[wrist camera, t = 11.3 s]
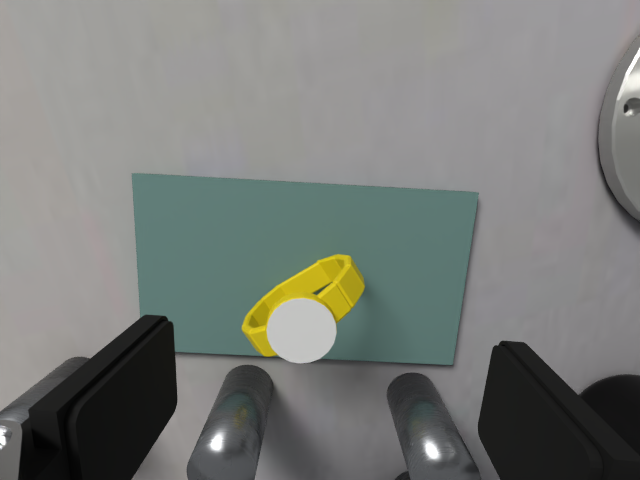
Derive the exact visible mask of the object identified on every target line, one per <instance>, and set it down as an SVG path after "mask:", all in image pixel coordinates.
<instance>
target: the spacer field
mask: <svg viewBox="0 0 640 480" xmlns="http://www.w3.org/2000/svg"><path fill="white" fill-rule="evenodd" d="M88 360H89V358H85V357H74V358H71V359H68V360H67V361H65V362H64V363H63V364H61V365H60V366H59V367H57V368H56V369H55V370H53V371H52V372H51V373H50V374H48V375H47V376H46V377H44V378H43V379H42V380H40V381H39V382H38V383H37V384H35V385H34V386H33V387H31V388H30V389H29V390H28V391H26V392H25V393H24V394H22V395H21V396H20V397H18V398H17V399H16V400H15V401H13V402H12V403H11V404H9V405H8V406H7V407H5V408H4V409H3V410H2V411H0V420H10V421H15V422H17V423H18V424H22V423H23V422H24V421H25V420H26V419H27V418H29V413H28V409H29V408H30V407H31V406H33V405H34V404H35V403H36V402H38V401H39V400H40V399H41V398H43V397H44V396H45V395H46V394H48V393H49V392H50V391H51V390H52V389H54V388H55V387H56V386H57V385H59V384H60V383H61V382H62V381H64V380H65V379H66V378H67V377H68V376H70V375H71V374H72V373H73V372H75V371H76V370H77V369H78V368H80V367H81V366H82V365H83V364H84V363H86V362H87V361H88ZM272 391H273V384H272V380H271V378H270V376H269V375H268V374H267V373H266V372H265V371H264V370H263V369H261V368H259V367H257V366H253V365H242V366H238V367H236V368H234V369H232V370H231V371H230V372H229V373H228V374H227V376H226V378H225V380H224V382H223V384H222V387H221V389H220V391H219V394H218V396H217V398H216V400H215V403H214V405H213V407H212V409H211V412H210V414H209V416H208V419H207V421H206V423H205V425H204V428H203V430H202V432H201V434H200V437H199V439H198V441H197V444H196V446H195V448H194V450H193V453H192V455H191V457H190V459H189V462H188V465H187V476H188V480H254V479H255V475H256V470H257V465H258V460H259V455H260V450H261V445H262V440H263V435H264V431H265V426H266V421H267V416H268V411H269V406H270V401H271V396H272ZM387 400H388V404H389V407H390V411H391V414H392V418H393V421H394V424H395V428H396V431H397V435H398V438H399V441H400V445H401V448H402V452H403V455H404V458H405V462H406V465H407V469H408V471H407V472H404V473H402V474H401V475H399V476H398V477H397V478H396V479H395V480H481V478H480V473H479V470H478V468H477V466H476V464H475V462H474V460H473V459H472V457H471V455H470V453H469V451H468V449H467V447H466V445H465V443H464V441H463V440H462V438H461V436H460V434H459V432H458V430H457V428H456V426H455V424H454V422H453V421H452V419H451V417H450V415H449V413H448V411H447V409H446V407H445V405H444V403H443V402H442V400H441V398H440V396H439V394H438V392H437V390H436V388H435V386H434V384H433V383H432V381H431V380H430V379H429V378H428V377H426V376H424V375H422V374H419V373H406V374H403V375H400V376H399V377H397V378H396V379H394V380H393V381H392V383H391V384H390V386H389V388H388V390H387Z"/></svg>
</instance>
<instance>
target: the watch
mask: <svg viewBox="0 0 640 480" xmlns="http://www.w3.org/2000/svg"><path fill="white" fill-rule="evenodd" d="M332 282H333V283H332ZM330 283H331V284H330ZM328 284H330V285H329V286H327V287H326V288H325V289H324V290H323V291H321V292H320V293H319V294H318V295H315V294H313V293H314V292H316V291H318V290H320V289H321V288H323V287H325V286H326V285H328ZM364 288H365V284H364V278H363V276H362V274H361V273H360V271H359V269H358V268H357V266H356V264H355V263H354V261H353V260H352V258H351V256H349V255H340V254H337V255H333V256H330V257H327V258H324V259H321V260H318V261H317V262H316V263H315V264H313V265H311V266H309V267H308V268H306V269H304V270H303V271H301V272H299V273H298V274H296V275H294V276H293V277H291V278H289V279H287V280H286V281H284V282H282V283H281V284H279V285H277V286H276V287H274V288H273V289H272V290H271V291H270V292H268V293H267V294H266V295H265V296H264V297H262V298H261V300H259V301H258V302H257V303H256V305H255V306H254V307H253V308H252V309H251V310H250V311H249V312H248V314H247V315H246V317H245V319H244V322H243V325H242V328H241V329H242V331H243V333H244V334H245V335H246V337H247V338H248V340H249V341H250V342H251V344H252V345H253V347H254V348H255V349H256V351H258V352H259V353H260V354H262V355H263V356H265V357H271V356H276V355H278V356H280V357H281V358H283V359H285V360H287V361H289V362H294V363H299V364H300V363H310V362H313V361H315V360H318V359H320V358H321V357H323V356H324V355H325V354H326V353H328V352H329V350H330V349H331V347H332V346H333V344H334V341H335V338H336V334H337V327H336V324H337V323H338V322H339V321H340V320H341V319H342V318H343V317H345V316H346V315H347V314H348V313H349V312H350V311H351V308H354V306H355V304H356V303H357V301H358V300H359V298H360V296H361V295H362V293H363V292H364Z"/></svg>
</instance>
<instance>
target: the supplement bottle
mask: <svg viewBox="0 0 640 480" xmlns="http://www.w3.org/2000/svg"><path fill="white" fill-rule="evenodd" d="M579 396H580V397H581V398H582V399H583V400H584V401H585V402H586V403H587V404H588V405H589V406H590V407H591V408H592V409H593V410H594V411H595V412H596V413H597V414H598V415H599V416H600V417H601V418H602V419H603V420H604V421H605V422H606V423H607V424H608V425H609V426H610V427H611V428H612V429H613V430H614V431H615V432H616V433H617V434H618V435H619V436H620V437H621V438H622V439H623V440H624V441H625V442H626V443H627V444H628V445H629V446H630V447H631V448H632V449H633V450H634V451H635V452H636V453H637V454H638V455H639V456H640V376H639V375H631V374H625V375H616V376H611V377H607V378H605V379H602V380H600V381H597V382H596V383H594V384H592V385H591V386H589V387H588V388H586V389H585V390H584V391H583V392H582V393H581V394H580V395H579Z"/></svg>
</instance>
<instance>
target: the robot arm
mask: <svg viewBox="0 0 640 480" xmlns="http://www.w3.org/2000/svg"><path fill="white" fill-rule="evenodd" d="M598 143H599V152H600V161H601V165H602V168H603V172H604V175H605V178H606V181H607V184H608V185H609V187H610V189H611V190H612V192H613V194H614V196H615V197H616V199H617V201H618V202H619V203H620V204H621V205H622V206H623V207H624V208H625V209H626V210H627V211H628V213H629V214H630V215H631V216H632V217H634V218H636V219H637V220H639V221H640V35H639V36H638V37H637V38H636V39H635V40H634V41H633V43H632V44H631V46H630V47H629V49H628V51H627V52H626V54H625V55H624V57H623V58H622V60H621V61H620V63H619V64H618V66H617V68H616V71H615V73H614V75H613V77H612V79H611V82H610V84H609V86H608V88H607V91H606V95H605V99H604V102H603V106H602V110H601V114H600V123H599V136H598ZM176 406H177V383H176V362H175V342H174V325H173V322H172V321H168V318H167V317H166V316H161V315H147V314H146V315H144V316H142V317H141V318H140V319H139V320H137V321H136V322H135V323H134V324H133V325H131V326H130V327H129V328H128V329H126V330H125V331H124V332H123V333H121V334H120V335H119V336H118V337H117V338H115V339H114V340H113V341H112V342H110V343H109V344H108V345H107V346H105V347H104V348H103V349H102V350H100V351H99V352H98V353H97V354H96V355H94V356H93V357H92V358H91V359H89V360H88V361H87V362H86V363H84V364H83V365H82V366H81V367H80V368H78V369H77V370H76V371H75V372H73V373H72V374H71V375H70V376H68V377H67V378H66V379H65V380H64V381H62V382H61V383H60V384H59V385H57V386H56V387H55V388H54V389H52V390H51V391H50V392H49V393H48V394H46V395H45V396H44V397H43V398H41V399H40V400H39V401H38V402H36V403H35V404H34V405H33V406H31V407H30V408H29V409H28V413H29V418H27V419H26V420H25V421H24V422H23V423H22V424H18V423H17V422H15V421H10V420H0V480H131V479H132V478H133V476H134V474H135V473H136V471H137V470H138V468H139V467H140V465H141V463H142V462H143V460H144V459H145V457H146V456H147V454H148V453H149V451H150V449H151V448H152V446H153V445H154V443H155V442H156V440H157V439H158V437H159V435H160V434H161V432H162V431H163V429H164V428H165V426H166V425H167V423H168V421H169V420H170V418H171V417H172V415H173V414H174V412H175V409H176ZM478 434H479V437H480V440H481V442H482V444H483V446H484V448H485V450H486V452H487V454H488V456H489V458H490V460H491V462H492V464H493V466H494V468H495V469H496V471H497V473H498V475H499V477H500V479H501V480H640V456H639V455H638V454H637V453H636V452H635V451H634V450H633V449H632V448H631V447H630V446H629V445H628V444H627V443H626V442H625V441H624V440H623V439H622V438H621V437H620V436H619V435H618V434H617V433H616V432H615V431H614V430H613V429H612V428H611V427H610V426H609V425H608V424H607V423H606V422H605V421H604V420H603V419H602V418H601V417H600V416H599V415H598V414H597V413H596V412H595V411H594V410H593V409H592V408H591V407H590V406H589V405H588V404H587V403H586V402H585V401H584V400H583V399H582V398H581V397H580V396H579V395H578V394H576V393H575V392H574V391H573V390H572V389H571V388H570V387H569V386H568V385H567V384H566V383H565V382H564V381H563V380H562V379H561V378H560V377H559V376H558V375H557V374H556V373H555V372H554V371H553V370H552V369H551V368H550V367H549V366H548V365H547V364H546V363H545V362H544V361H543V360H542V359H541V358H540V357H539V356H538V355H537V354H536V353H535V352H534V351H533V350H532V349H531V348H530V347H529V346H528V345H527V344H525V343H524V342H512V341H501V342H500V343H499V345H498V346H497V345H495V346H494V347H493V350H492V354H491V359H490V365H489V370H488V375H487V380H486V385H485V391H484V396H483V401H482V406H481V411H480V417H479V422H478Z"/></svg>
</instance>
